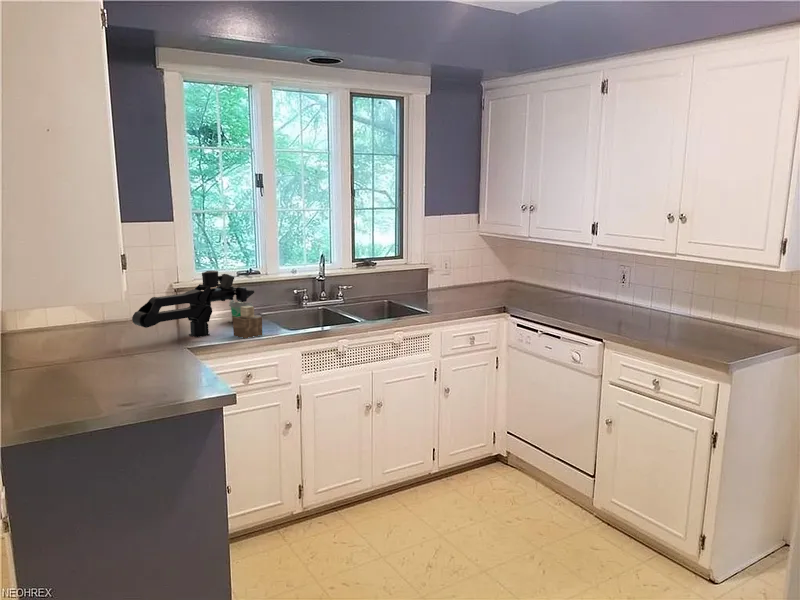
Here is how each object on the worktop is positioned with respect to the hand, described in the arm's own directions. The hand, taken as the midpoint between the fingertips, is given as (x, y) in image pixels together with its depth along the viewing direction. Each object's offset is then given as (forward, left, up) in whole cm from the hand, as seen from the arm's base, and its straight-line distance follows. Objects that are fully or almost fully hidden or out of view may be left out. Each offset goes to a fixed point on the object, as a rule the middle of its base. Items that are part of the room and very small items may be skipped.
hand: (247, 290), depth 278 cm
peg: (-11, -15, -12) cm, 22 cm away
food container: (+2, +10, -17) cm, 20 cm away
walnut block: (-11, -15, -17) cm, 25 cm away
